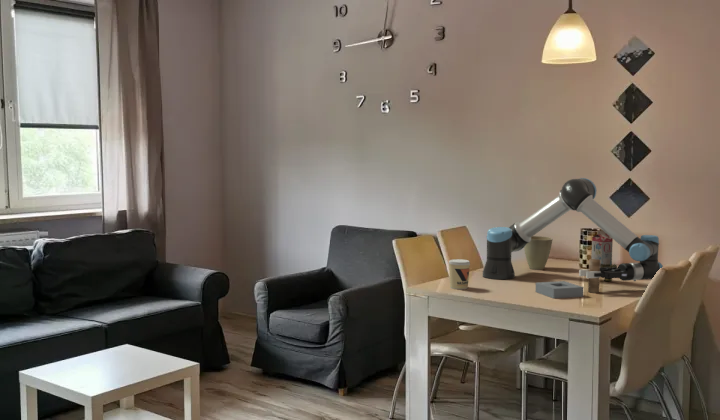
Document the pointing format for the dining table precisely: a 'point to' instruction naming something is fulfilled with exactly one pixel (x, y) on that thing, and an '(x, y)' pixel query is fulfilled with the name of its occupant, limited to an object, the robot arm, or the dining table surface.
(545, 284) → the socket block
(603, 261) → the juice carton
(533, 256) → the plant pot
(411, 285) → the dining table surface
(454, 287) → the coffee cup
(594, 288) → the walnut peg
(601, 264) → the cup
